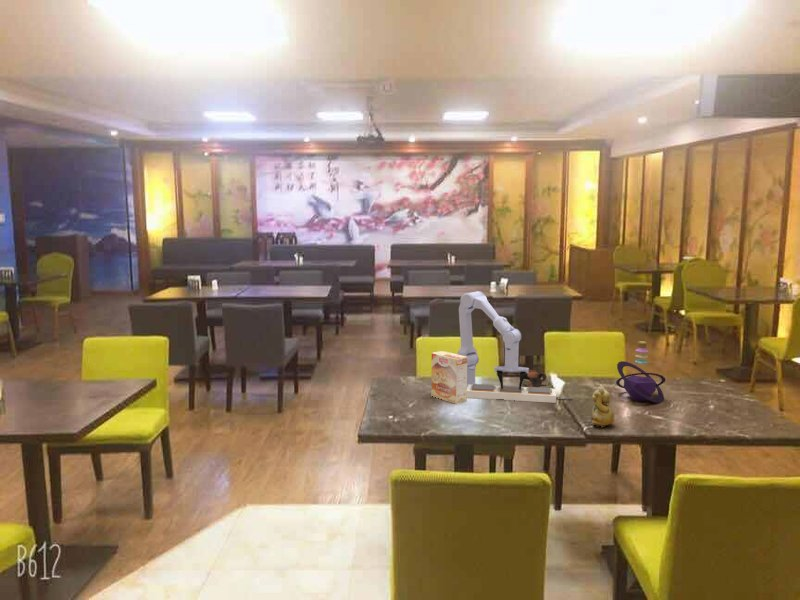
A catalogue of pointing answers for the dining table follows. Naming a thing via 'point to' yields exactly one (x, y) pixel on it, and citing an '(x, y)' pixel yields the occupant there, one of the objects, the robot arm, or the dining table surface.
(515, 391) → the middle button
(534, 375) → the brown grey irregular piece
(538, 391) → the right button
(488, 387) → the left button
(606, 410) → the decorative figurine
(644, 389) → the decorative bottle
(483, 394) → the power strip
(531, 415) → the dining table surface
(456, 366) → the coffeecake box
